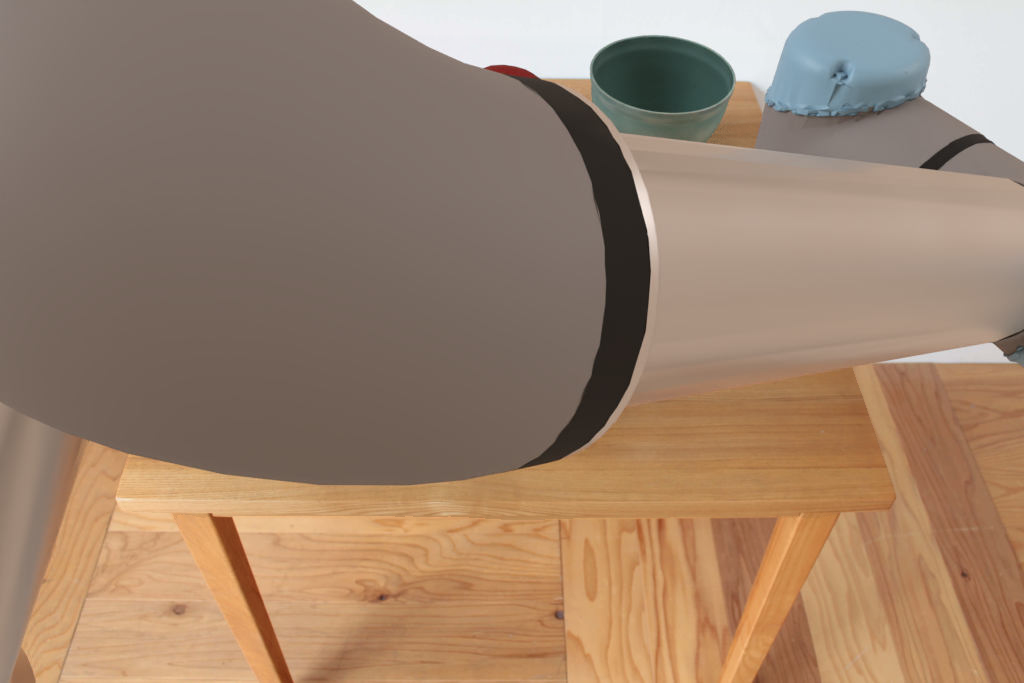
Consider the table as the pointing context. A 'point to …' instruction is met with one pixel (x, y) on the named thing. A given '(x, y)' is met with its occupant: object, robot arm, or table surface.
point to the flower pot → (662, 87)
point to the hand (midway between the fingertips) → (374, 118)
